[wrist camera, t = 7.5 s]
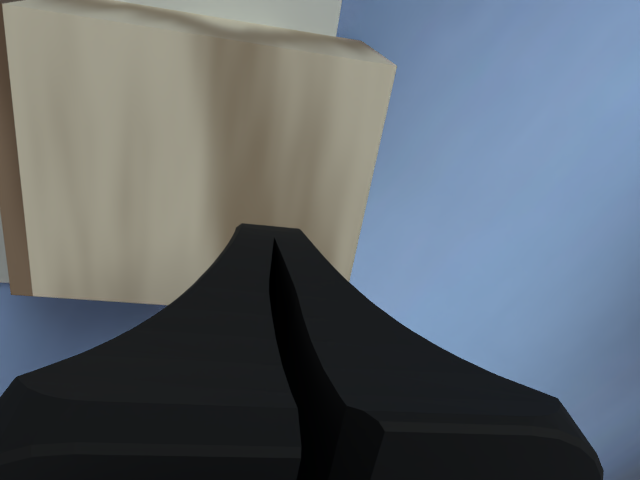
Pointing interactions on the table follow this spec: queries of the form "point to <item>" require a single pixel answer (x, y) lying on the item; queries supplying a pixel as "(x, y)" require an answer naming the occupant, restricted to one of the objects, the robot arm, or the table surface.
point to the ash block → (174, 143)
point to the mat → (248, 6)
